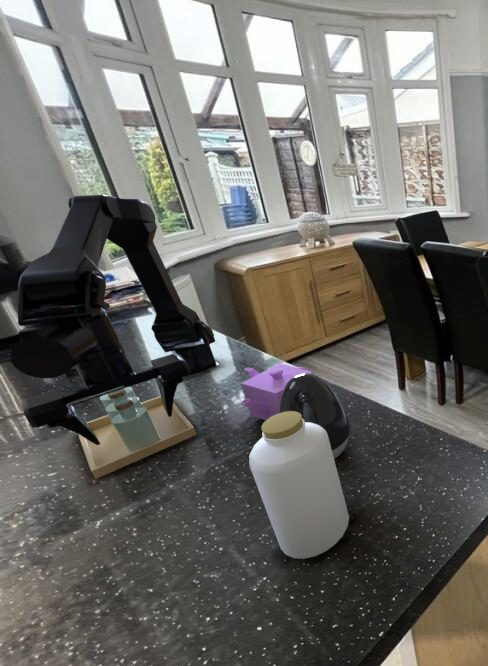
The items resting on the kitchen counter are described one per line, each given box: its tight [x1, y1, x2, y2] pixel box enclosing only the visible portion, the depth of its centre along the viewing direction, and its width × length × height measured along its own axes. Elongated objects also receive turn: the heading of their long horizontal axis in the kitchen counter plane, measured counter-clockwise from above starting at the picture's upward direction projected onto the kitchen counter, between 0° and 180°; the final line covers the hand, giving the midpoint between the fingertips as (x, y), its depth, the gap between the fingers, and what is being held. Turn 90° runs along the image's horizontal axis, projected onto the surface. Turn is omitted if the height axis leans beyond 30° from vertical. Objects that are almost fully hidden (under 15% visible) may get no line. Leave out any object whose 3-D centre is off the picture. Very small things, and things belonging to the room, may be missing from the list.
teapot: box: [240, 363, 315, 421], centre depth 73 cm, size 18×13×10 cm
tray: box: [77, 395, 198, 479], centre depth 71 cm, size 13×18×2 cm
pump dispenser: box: [279, 373, 352, 460], centre depth 62 cm, size 10×10×15 cm
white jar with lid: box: [248, 411, 350, 560], centre depth 48 cm, size 8×8×18 cm
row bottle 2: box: [104, 389, 143, 421], centre depth 69 cm, size 4×4×9 cm
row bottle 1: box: [99, 386, 137, 410], centre depth 72 cm, size 4×4×9 cm
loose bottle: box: [111, 399, 161, 454], centre depth 66 cm, size 4×4×9 cm
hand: (135, 429), depth 66 cm, fingers open, 9 cm apart
